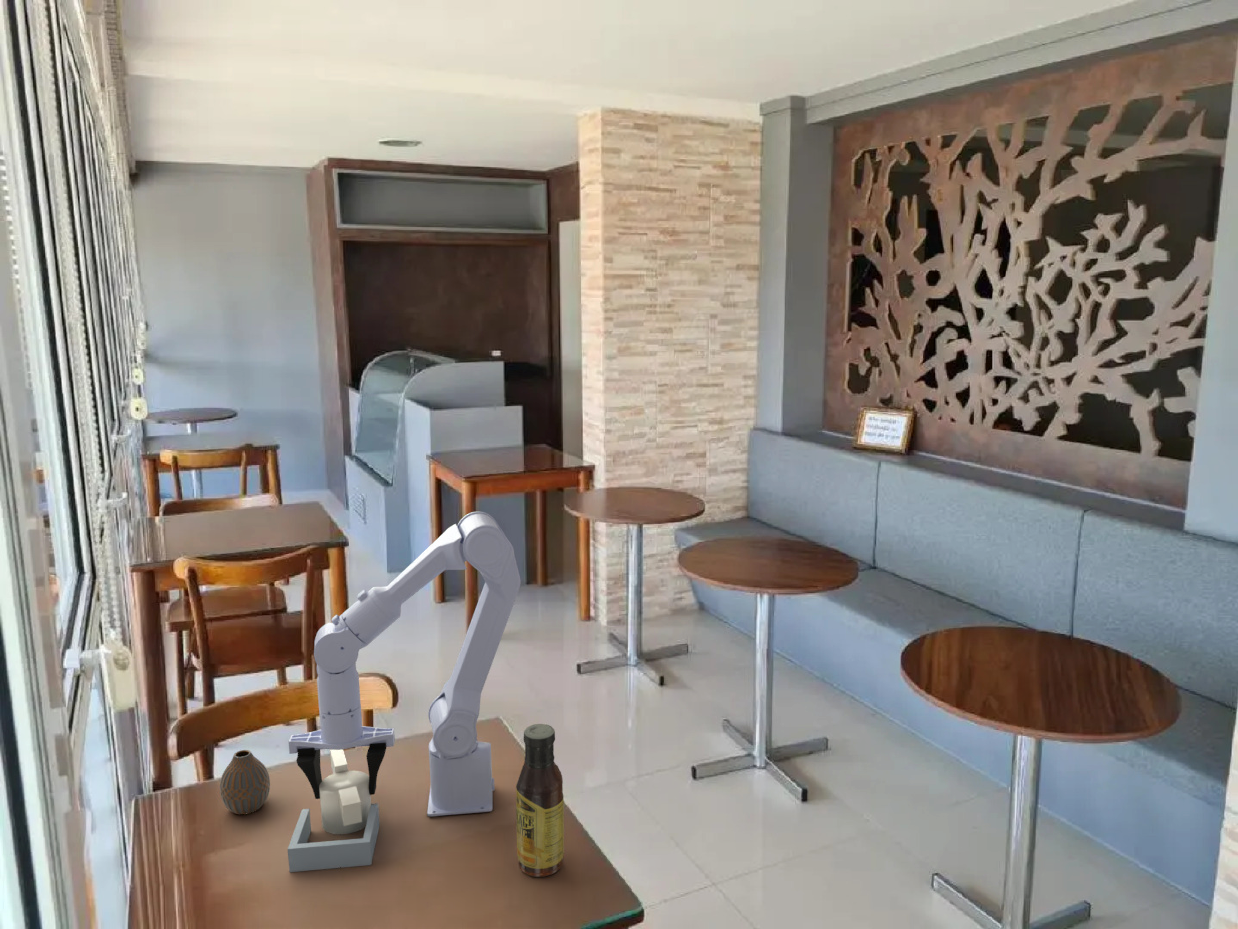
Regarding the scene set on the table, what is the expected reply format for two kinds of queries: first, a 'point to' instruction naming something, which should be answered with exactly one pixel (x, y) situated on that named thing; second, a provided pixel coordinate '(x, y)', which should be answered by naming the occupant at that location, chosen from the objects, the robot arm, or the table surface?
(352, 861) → the holder
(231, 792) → the vase
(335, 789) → the cream egg with arms
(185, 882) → the table surface
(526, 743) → the sauce bottle
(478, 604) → the robot arm
